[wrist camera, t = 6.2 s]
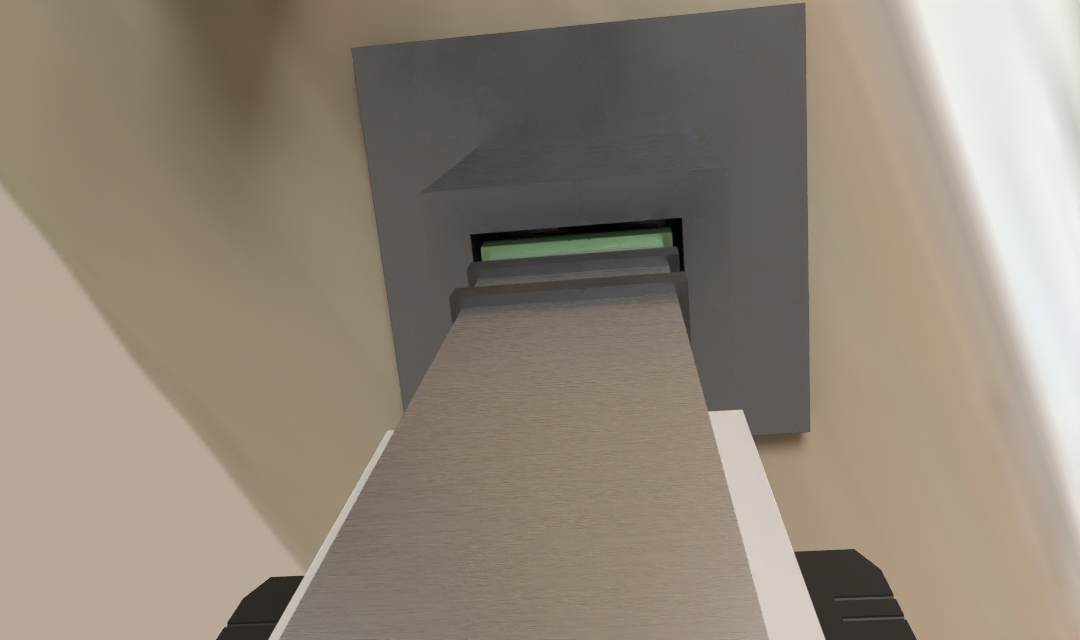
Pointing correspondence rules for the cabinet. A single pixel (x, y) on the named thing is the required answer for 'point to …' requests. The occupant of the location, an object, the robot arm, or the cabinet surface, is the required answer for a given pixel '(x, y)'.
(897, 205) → the cabinet surface
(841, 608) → the robot arm
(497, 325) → the column
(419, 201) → the stand base
